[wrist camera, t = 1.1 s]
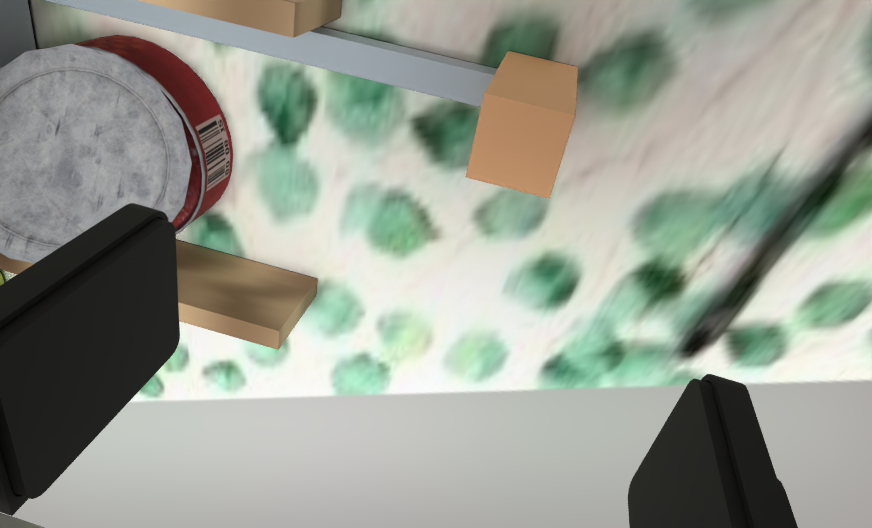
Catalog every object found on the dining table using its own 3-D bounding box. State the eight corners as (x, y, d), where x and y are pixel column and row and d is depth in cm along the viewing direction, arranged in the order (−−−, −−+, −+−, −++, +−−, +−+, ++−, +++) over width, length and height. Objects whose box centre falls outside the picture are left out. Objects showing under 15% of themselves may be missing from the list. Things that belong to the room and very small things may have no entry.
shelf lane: (342, -12, 26) (195, 34, 16) (315, 295, 34) (209, 446, 25) (-58, -105, 27) (-410, -113, 18) (13, 211, 36) (-197, 321, 26)
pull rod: (577, 67, 25) (575, 115, 19) (500, 324, 32) (481, 416, 27) (-14, -72, 28) (-178, -68, 22) (39, 196, 35) (-73, 255, 29)
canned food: (114, 69, 35) (-82, 7, 26) (257, 52, 32) (90, -27, 22) (116, 262, 36) (-77, 269, 26) (257, 266, 32) (93, 276, 23)
